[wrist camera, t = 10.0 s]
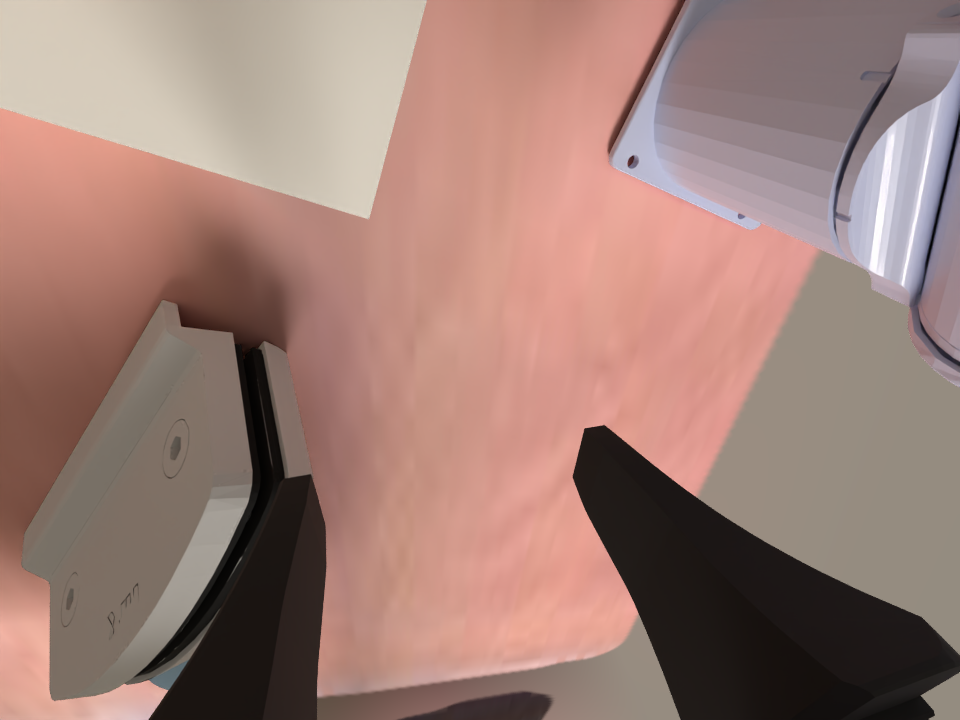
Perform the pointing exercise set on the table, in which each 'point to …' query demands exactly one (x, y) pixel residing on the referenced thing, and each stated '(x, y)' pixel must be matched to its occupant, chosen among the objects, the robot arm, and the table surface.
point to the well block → (222, 83)
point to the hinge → (162, 503)
